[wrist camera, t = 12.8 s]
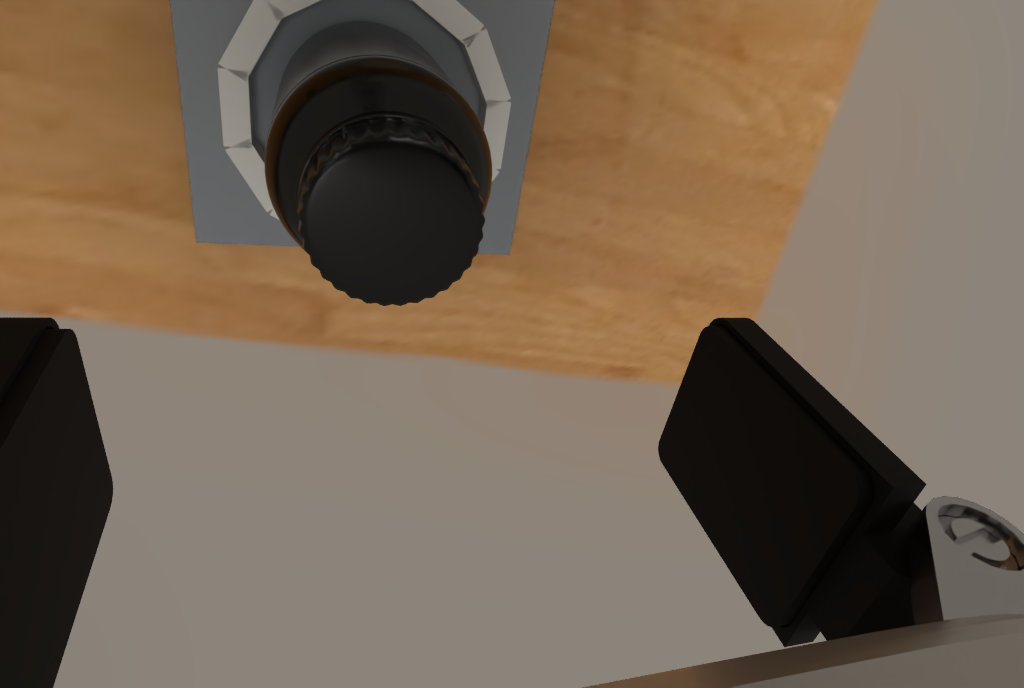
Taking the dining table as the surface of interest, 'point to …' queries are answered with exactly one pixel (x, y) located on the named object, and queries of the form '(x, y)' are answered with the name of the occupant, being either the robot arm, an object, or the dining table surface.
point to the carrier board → (262, 61)
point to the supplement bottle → (377, 164)
